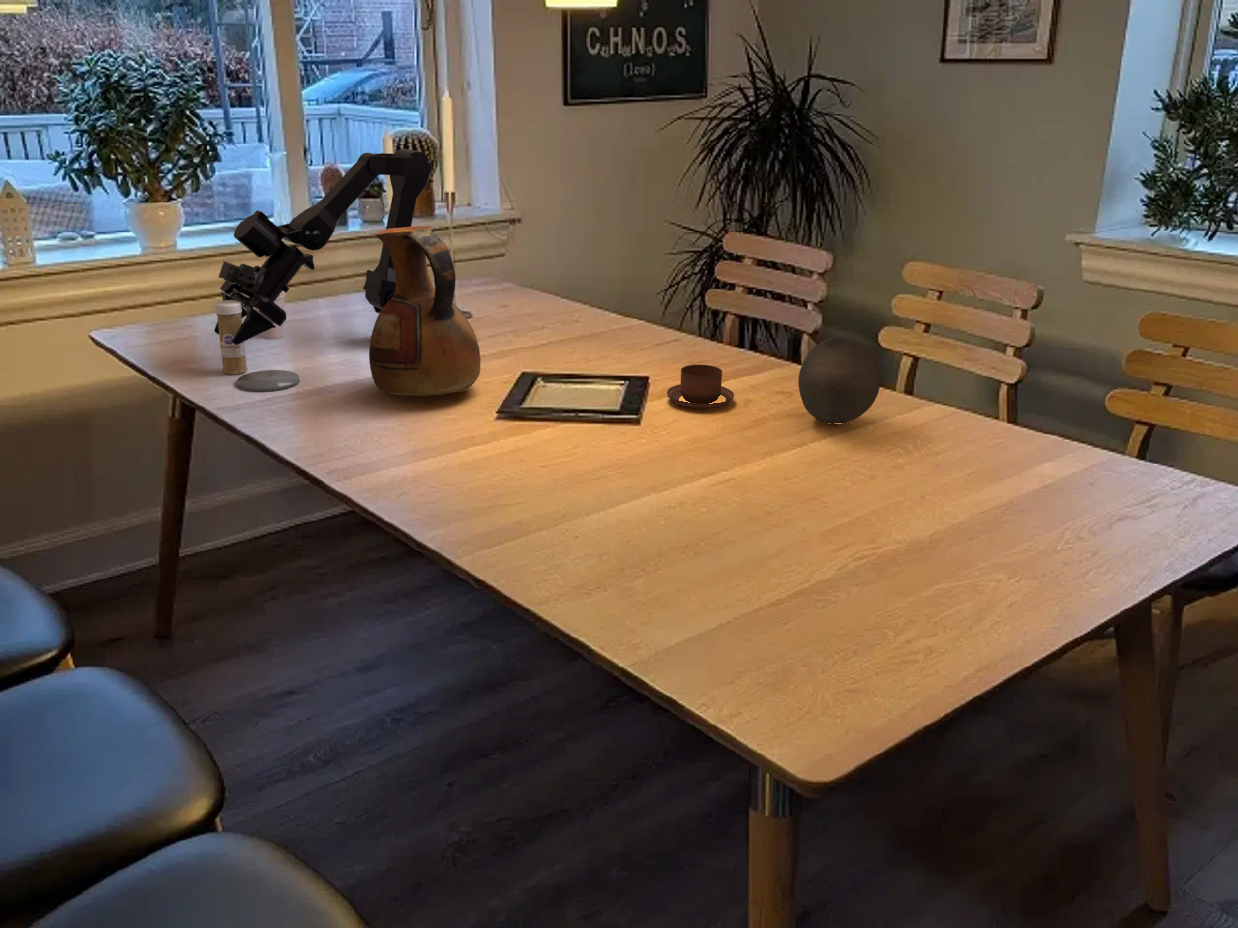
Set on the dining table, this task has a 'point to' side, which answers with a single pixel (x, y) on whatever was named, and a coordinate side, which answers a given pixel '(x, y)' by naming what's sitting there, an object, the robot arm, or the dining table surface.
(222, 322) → the sprinkles bottle
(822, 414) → the dark charcoal ball
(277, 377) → the slate gray plate
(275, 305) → the robot arm
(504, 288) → the dining table surface
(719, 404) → the cup and saucer
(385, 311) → the ceramic pitcher
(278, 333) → the smoothie
